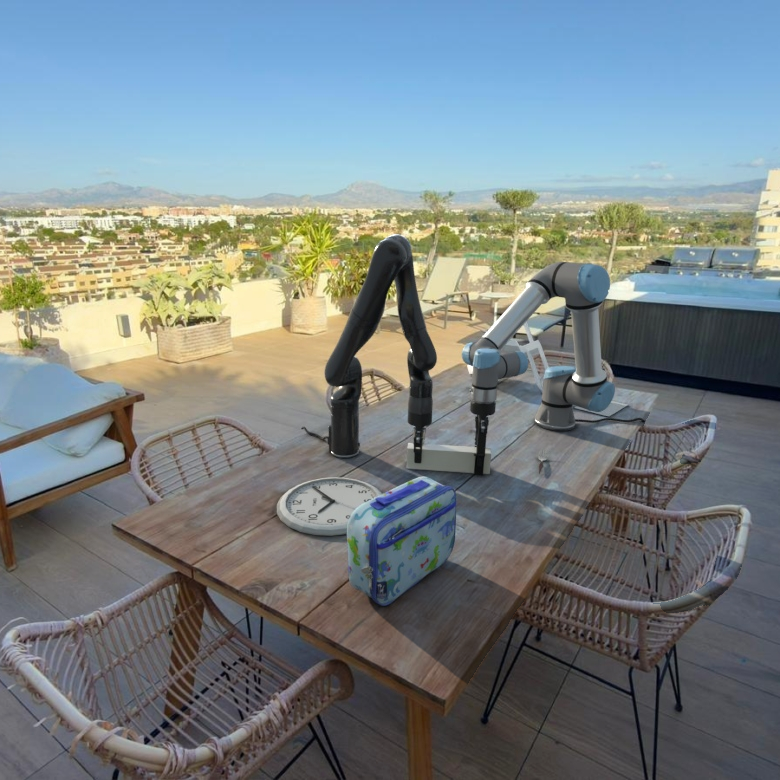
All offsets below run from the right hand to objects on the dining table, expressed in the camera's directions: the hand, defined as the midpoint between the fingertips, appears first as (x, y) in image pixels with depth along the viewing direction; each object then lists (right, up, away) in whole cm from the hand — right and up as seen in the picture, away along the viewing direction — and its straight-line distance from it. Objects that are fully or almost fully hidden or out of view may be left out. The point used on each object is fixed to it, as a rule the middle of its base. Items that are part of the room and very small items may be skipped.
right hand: (478, 469), depth 165 cm
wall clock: (-44, -7, -22) cm, 49 cm away
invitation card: (+64, +18, +61) cm, 90 cm away
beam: (-9, 0, +1) cm, 9 cm away
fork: (+21, +1, +4) cm, 22 cm away
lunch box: (-25, -16, -51) cm, 59 cm away
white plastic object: (+29, +27, +88) cm, 97 cm away
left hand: (-19, +3, +1) cm, 19 cm away
